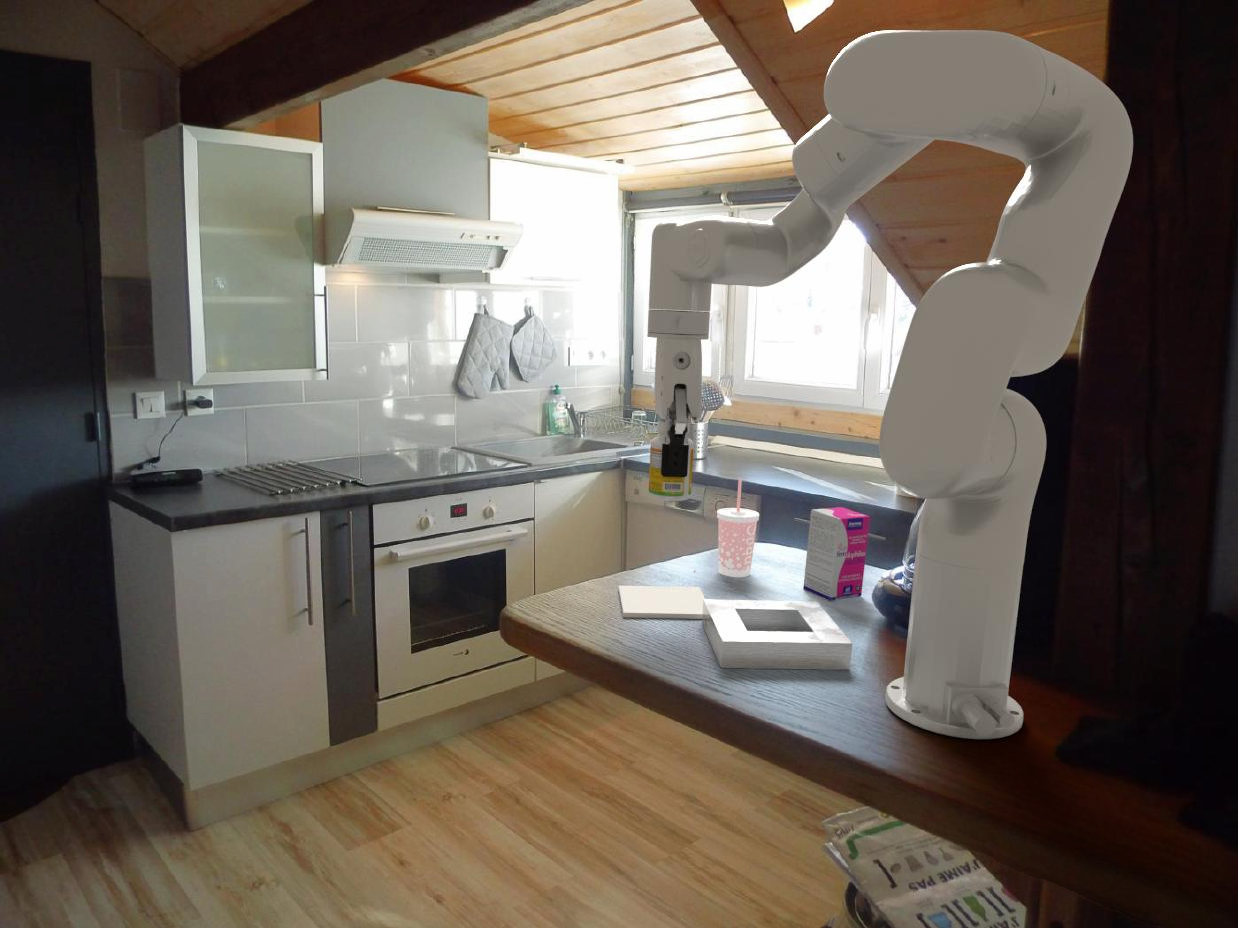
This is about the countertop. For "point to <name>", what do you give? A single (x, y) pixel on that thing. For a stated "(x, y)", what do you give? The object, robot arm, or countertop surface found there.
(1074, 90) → the robot arm
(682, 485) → the supplement bottle
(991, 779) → the countertop surface
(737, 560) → the beverage cup
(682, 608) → the plastic mat
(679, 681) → the countertop surface
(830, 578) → the supplement box
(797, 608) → the concrete holder
